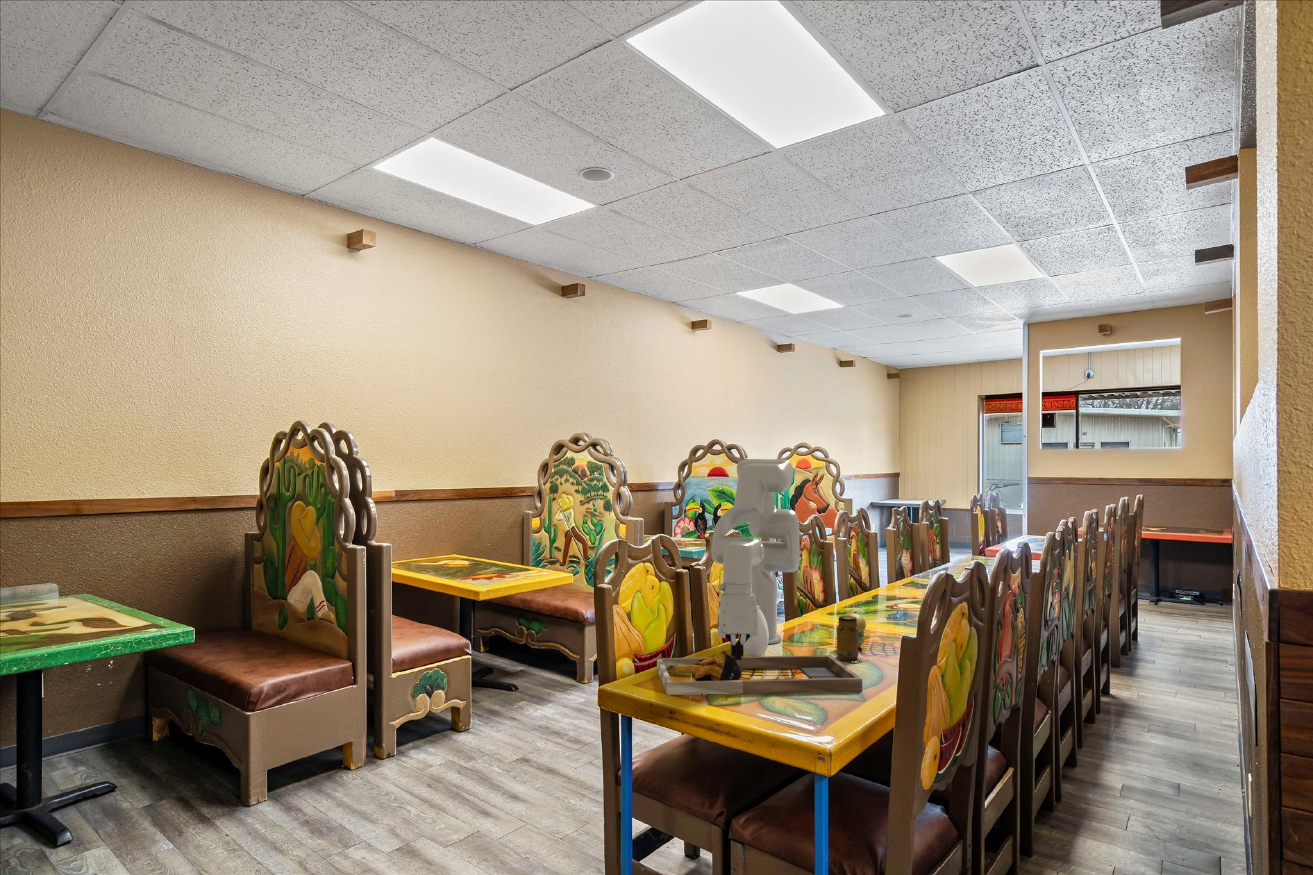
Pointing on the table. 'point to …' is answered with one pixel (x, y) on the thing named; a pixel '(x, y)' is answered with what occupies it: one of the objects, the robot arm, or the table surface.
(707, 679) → the leather work glove
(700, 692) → the tray box
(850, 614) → the pale rounded lump
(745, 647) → the white bulb syringe
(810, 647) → the table surface
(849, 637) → the condiment
